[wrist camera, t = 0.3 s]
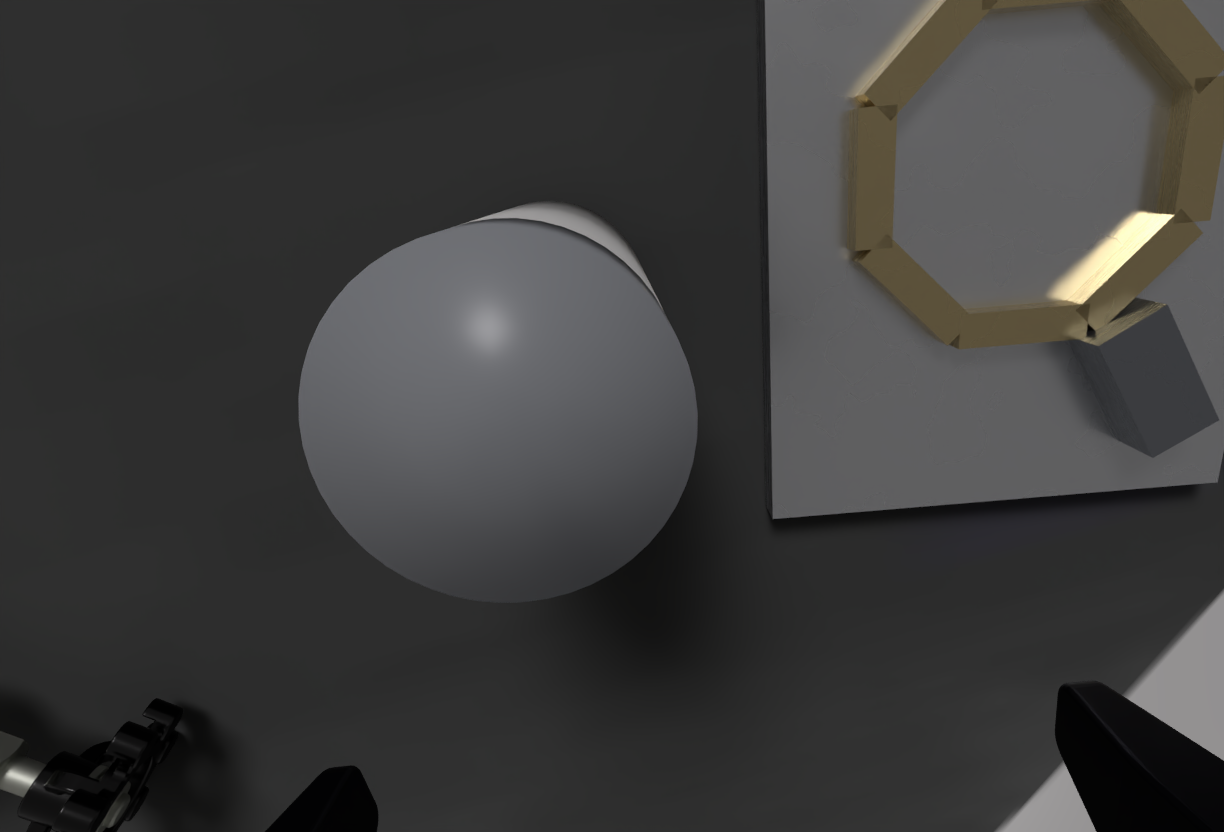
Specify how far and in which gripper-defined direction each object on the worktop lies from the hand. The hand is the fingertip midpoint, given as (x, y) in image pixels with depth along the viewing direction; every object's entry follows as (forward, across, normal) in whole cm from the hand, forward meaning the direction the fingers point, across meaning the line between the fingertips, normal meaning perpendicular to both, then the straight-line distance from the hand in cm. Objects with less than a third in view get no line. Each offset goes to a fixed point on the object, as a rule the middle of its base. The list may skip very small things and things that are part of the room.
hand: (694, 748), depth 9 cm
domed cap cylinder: (+14, +3, -2) cm, 15 cm away
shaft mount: (+16, -11, -4) cm, 19 cm away
